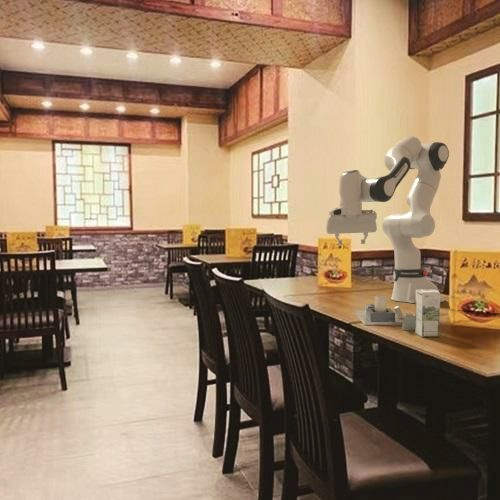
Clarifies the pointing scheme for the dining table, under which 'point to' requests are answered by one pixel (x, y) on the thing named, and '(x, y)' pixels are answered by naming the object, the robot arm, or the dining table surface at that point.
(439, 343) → the dining table surface
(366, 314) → the fitting board
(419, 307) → the syrup box
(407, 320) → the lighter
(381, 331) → the dining table surface
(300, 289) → the dining table surface
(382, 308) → the white rounded cylinder
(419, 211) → the robot arm
